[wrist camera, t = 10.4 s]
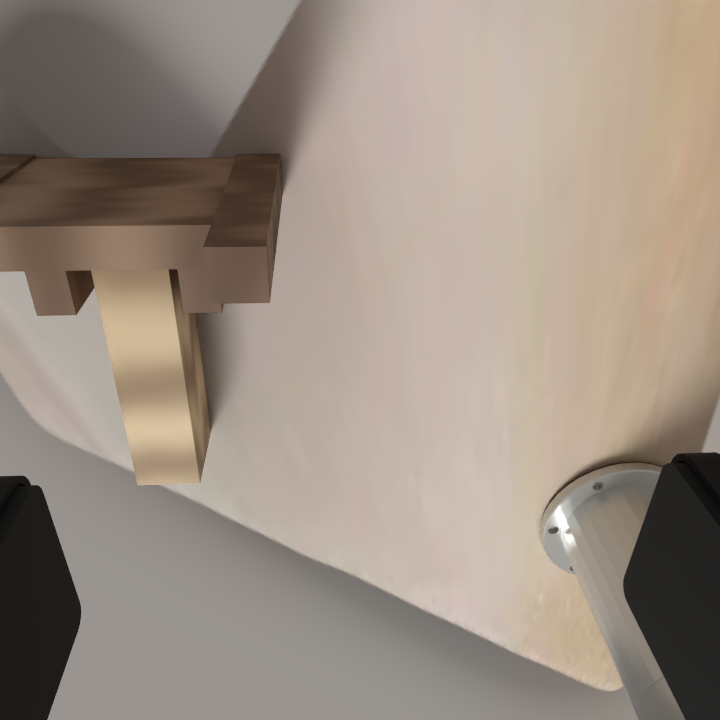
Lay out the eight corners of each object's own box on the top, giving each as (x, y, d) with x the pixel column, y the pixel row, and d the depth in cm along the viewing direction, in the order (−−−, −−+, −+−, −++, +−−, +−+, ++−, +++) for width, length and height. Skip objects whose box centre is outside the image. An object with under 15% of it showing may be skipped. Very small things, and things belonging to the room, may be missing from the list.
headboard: (280, 154, 36) (266, 246, 24) (285, 263, 40) (275, 390, 28) (-11, 154, 35) (-173, 251, 23) (21, 266, 39) (-106, 400, 27)
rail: (112, 206, 37) (84, 240, 33) (182, 206, 38) (164, 240, 33) (155, 432, 46) (137, 485, 41) (210, 431, 46) (199, 483, 42)
